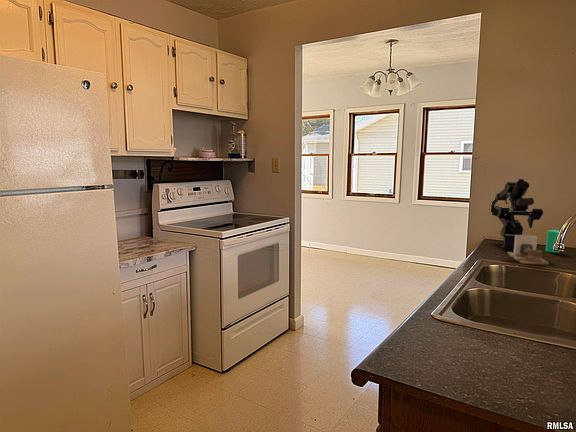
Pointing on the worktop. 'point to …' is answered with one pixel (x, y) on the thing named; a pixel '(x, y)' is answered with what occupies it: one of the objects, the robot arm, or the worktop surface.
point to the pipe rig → (529, 256)
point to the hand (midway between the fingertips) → (523, 227)
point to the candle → (551, 240)
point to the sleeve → (524, 243)
